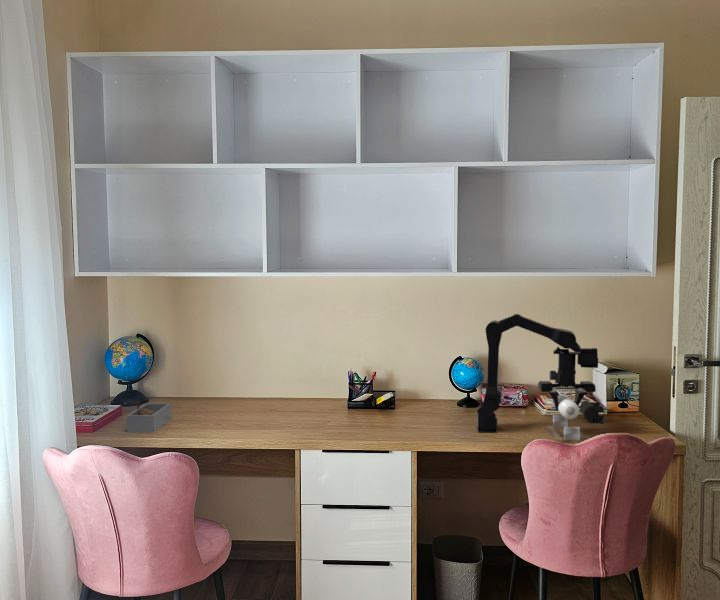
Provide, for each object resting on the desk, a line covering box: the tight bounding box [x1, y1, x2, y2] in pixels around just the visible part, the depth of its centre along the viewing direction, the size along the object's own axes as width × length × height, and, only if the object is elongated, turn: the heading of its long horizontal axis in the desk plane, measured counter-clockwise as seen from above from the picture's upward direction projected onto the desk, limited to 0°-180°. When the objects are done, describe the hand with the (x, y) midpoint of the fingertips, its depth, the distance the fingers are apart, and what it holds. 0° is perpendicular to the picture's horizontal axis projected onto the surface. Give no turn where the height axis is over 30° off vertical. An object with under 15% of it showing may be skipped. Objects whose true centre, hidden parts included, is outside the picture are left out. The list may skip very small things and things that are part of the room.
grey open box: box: [128, 400, 165, 426], centre depth 264 cm, size 14×4×9 cm, turn 75°
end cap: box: [579, 400, 605, 424], centre depth 269 cm, size 10×7×7 cm
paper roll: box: [553, 394, 580, 420], centre depth 247 cm, size 6×12×6 cm, turn 177°
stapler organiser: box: [125, 402, 172, 433], centre depth 264 cm, size 10×20×6 cm, turn 177°
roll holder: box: [544, 414, 588, 444], centre depth 247 cm, size 11×18×5 cm, turn 177°
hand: (566, 410), depth 247 cm, fingers closed on paper roll, 6 cm apart
